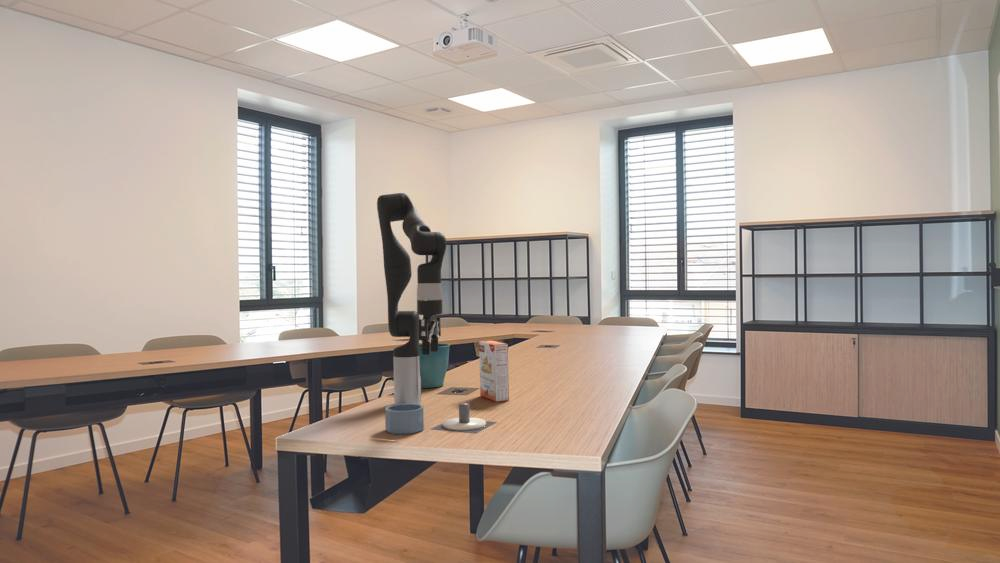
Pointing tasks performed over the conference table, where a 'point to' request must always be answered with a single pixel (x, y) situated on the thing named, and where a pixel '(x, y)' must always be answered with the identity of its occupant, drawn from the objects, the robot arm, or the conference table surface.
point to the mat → (440, 427)
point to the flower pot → (433, 366)
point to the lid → (464, 420)
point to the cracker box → (494, 370)
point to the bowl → (404, 418)
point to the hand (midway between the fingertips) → (430, 352)
